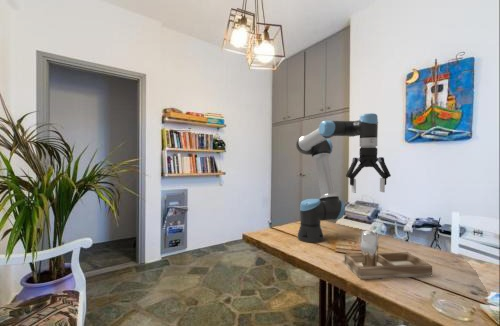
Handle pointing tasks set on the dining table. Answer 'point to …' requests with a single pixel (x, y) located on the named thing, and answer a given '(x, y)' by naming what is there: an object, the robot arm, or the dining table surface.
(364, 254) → the metal cup
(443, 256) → the dining table surface
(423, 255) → the dining table surface
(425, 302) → the dining table surface
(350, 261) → the tray
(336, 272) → the dining table surface
